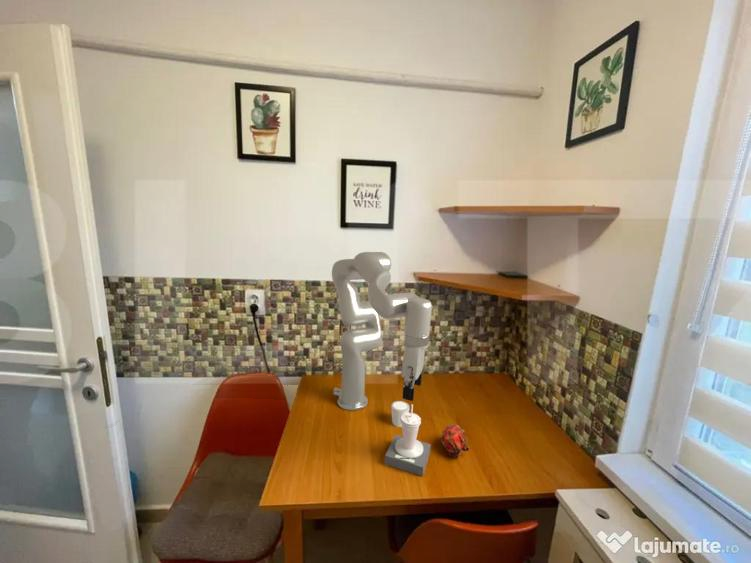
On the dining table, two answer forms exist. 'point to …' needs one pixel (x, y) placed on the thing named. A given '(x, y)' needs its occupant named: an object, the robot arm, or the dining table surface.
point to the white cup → (399, 412)
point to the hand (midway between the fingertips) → (412, 391)
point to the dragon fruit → (454, 440)
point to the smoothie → (410, 429)
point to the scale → (408, 456)
